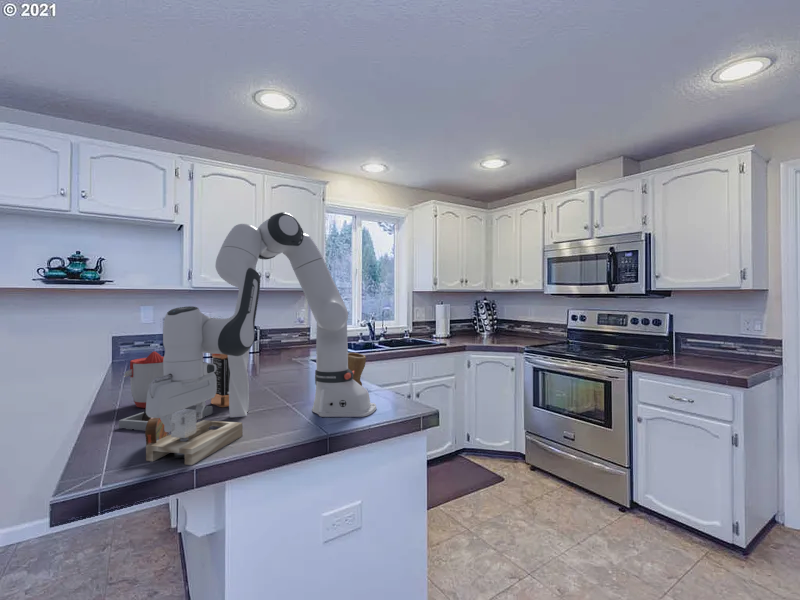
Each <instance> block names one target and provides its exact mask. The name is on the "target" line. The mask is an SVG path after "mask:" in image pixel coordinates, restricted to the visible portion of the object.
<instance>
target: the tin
mask: <svg viewBox="0 0 800 600" xmlns="http://www.w3.org/2000/svg"><path fill="white" fill-rule="evenodd" d="M144 433H145V434H144V436H145V446H146V445H148V444H151V443H156V441H157V440H159V439H161V438H164V437H166V436H168V435H170V432H165V430H164V424H163V423H162V421H161V420H160V418H150V419H149V421H148V422H147V425H146V429H145V430H144Z"/></svg>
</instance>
